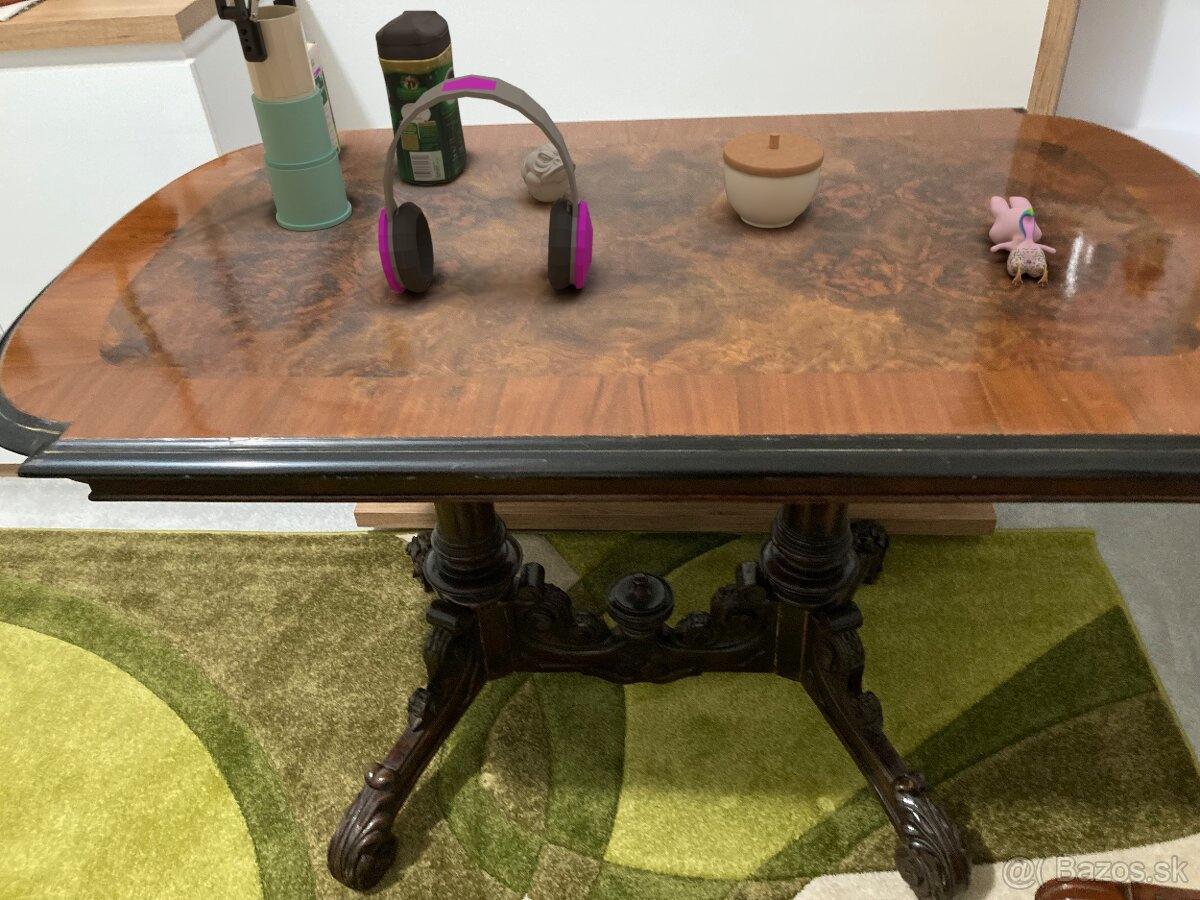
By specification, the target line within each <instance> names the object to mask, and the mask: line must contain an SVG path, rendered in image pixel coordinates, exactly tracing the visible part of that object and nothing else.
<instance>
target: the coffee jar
mask: <svg viewBox="0 0 1200 900" xmlns="http://www.w3.org/2000/svg"><path fill="white" fill-rule="evenodd" d="M375 43H376V50H377V55H378V57H377V58H378V62H379V64H380V67H381V68H380V69H381V71H382V75H383V80H384V84H385V90H386V94H387V95H386V96H387V103H388V108H389V114H390V120H391V126H392V134H393V138H394V137H395V134H396V132H397V130H398V128H399V126H400V124H401V122H402V120H403V118H404V116H405V114H406V113H407V112H408V111H409V109H410V108H411V107H412V106H413V105H414V104H415V103H416V101H417V100H418V99H419V98H420V97H421V96H422V95H423V93H425V92H426V91H428V90H430V89H431V88H433V87H435V86H436V85H438V84H440V83H441V82H443V81H445V80H446V79H451V78H456V76H455V70H454V69H455V68H454V58H453V47H452V38H451V32H450V28H449V24H448V21H447V20H446V19H445V17H443V16H442V15H441V14H439V13H438V12H437V11H436V10H428V9H427V10H425V9H424V10H404V11H402V12H401V14H399V15H397V16H396V17H395V18H393V19H391V20H390V21H388V22H387V23H385V25H383V26H382V27H381V28H379V30H378V31H377V32H376V33H375ZM463 130H464V129H463V124H462V118H461V111H460V105H459V98H457V99H452V100H447V101H441V102H439V103H437V104H435V105H434V106H432V107H430V108H428V109H426V110H425V111H423V112H421V113H419V114H418V115H417V116H416V117H415V118H414V119H413V121H412V122H411V123H410V124H409V125H408V126H407V127H406V128H405V129H404V130H403V131H402V133H401V135H400V137H399V140H398V142H397V146H396V151H395V156H396V160H397V162H396V163H397V168H398V174H399V177H400V178H401V179H402V180H403V181H406V182H409V183H412V184H414V185H420V186H433V185H436V184H440V183H446V182H447V183H448V182H451V181H453V180H455V178H456V177H458V175H460V174H461V172H462V171H463V169H464V167H465V165H466V163H467V160H468V156H467V155H468V154H467V147H466V141H465V135H464V131H463Z"/></svg>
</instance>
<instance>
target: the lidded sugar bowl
mask: <svg viewBox="0 0 1200 900" xmlns="http://www.w3.org/2000/svg"><path fill="white" fill-rule="evenodd" d="M722 149H723V150H722V159H723V168H722V169H723V170H722V172H723V173H722V175H723V185H724V186H723V187H724V191H725V195H726V198H727V201H728V202H729V204H730V206H731V207H732V209H733V210H734V212H736V213H737V214H738V215H739V217H740V219H741V221H743V223H745V224H747V225H750V226H752V227H757V228H761V229H778V228H783V227H787V226H789V225H791V224H792V223H793V222H794V221H795V220H796V218H798V217H799V216H800V215H802V214H803V212H805V211H806V209H808V207H809V205H811V203H812V201H813V199H814V198H815V195H816V193H817V190H818V186H819V182H820V178H821V173H822V166H823V162H824V158H825V150H824V148H823V146H822V145H821V144H820V143H819V142H817V141H816V140H814V139H813V138H810V137H807V136H805V135H800V134H796V133H795V134H794V133H791V132H782V131H781V132H780V131H760V132H752V133H751V132H750V133H745V134H743V135H739V136H736V137H734V138H732V139H730V140H728V142H726V143H725V144H724V147H723V148H722Z"/></svg>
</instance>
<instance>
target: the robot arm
mask: <svg viewBox="0 0 1200 900" xmlns="http://www.w3.org/2000/svg"><path fill="white" fill-rule="evenodd" d="M260 1H261V0H247V4H246V0H228V4H227V0H214V3H215V8H216V11H217V16H218V18H219V20H221V21H230V22H231V23H234V25H235V27H237V28H236V31H237V36H238V39H239V42H240V47H241V46H242V47H241V50H243V51H242V54H244V55H243V58H244V60H245V59H246V61H248V62H264V61H265V60H267V58H268V55H267V51H266V46H265V42H264V38H263V34H262V30H261V26H260V22H259V21H257V19H258V7H259V4H260ZM272 3H273V4H272V5H289V6H294V7H297V8H298V6H297V2H296V0H272Z"/></svg>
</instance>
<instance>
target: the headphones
mask: <svg viewBox="0 0 1200 900" xmlns="http://www.w3.org/2000/svg"><path fill="white" fill-rule="evenodd" d="M457 98H458V99H463V98H472V99H479V100H481V99H482V100H488V101H489V100H490V101H494V102H496V103H498V104H501V105H503V106H505V107H507V108H511V109H512V110H514V111H517V112H519V113H520V114H521V115H522V116H524V117H525V118H526V119H528V120H529V121H530V122H531V123H533V124H534V125H535V126H537V127H538V128H539V129H540V130H541V131H542V133H543V134H544V135H545V136H546V138H547V139H548V140H549V142H551V143H552V144H553V145H554V147H555V148H556V149H557V151H558V153H559V156H560V158H561V160H562V163H563V165H564V168H565V170H566V172H567V175H568V179H569V185H568V186H569V190H570V191H569V192H570V196H571V200H570V199H568V198H566V197H561V198H558V199H557V200H556V201H553V202H552V205H551V207H550V211H549V222H548V223H549V225H548V241H547V242H548V243H547V278H548V281H549V283H550V285H551V286H552V287H553V288H554V289H556V290H564V289H566V288H567V287H569V286H570V285H573V286H574V287H575V289H576V290H578V289H582V288H584V285H585V282H586V279H587V276H588V273H589V270H590V268H591V265H592V260H593V243H594V241H593V240H594V227H593V223H592V219H591V214H590V211H589V206H588V202H587V201H584V200H582V199H580V201H579V194H578V187H577V180H576V173H575V170H574V167H573V162H572V160H571V158H572V157H571V155H570V152H569V150H568V146H567V145H566V142H565V138H564V136H563V134H562V132H561V131H560V130H559V128H558V126H556V123H555V122H554V121H553V119H552V118H551V117H550V114H549V113H548V112H547V109H545V108H544V107H543V106H541V105H540V103H539V102H537V101H536V100H535V99H534V98H533V97H532V96H530V95H529V94H528V93H527V92H526V91H525V90H523V89H522V88H520V87H517V86H515V85H513V84H512V83H510V82H508V81H505V80H503V79H501V78H499V77H493V76H486V75H479V74H472V73H471V74H466V75H461V76H457V77H456V76H455V78H451V79H446V80H445V81H443V82H441V83H440V84H438V85H436V86H435V87H433V88H431V89H430V90H428V91H426V92H425V93H423V95H422V96H421V97H420V98H419V99H418V100H417V101H416V103H415V104H414V105H413V106H412V107H411V108H410V109H409V111H408V112H407V113H406V114H405V116H404V118H403V120H402V122H401V124H400V126H399V128H398V130H397V132H396V134H395V137H394V136H393V138H392V141H391V143H390V145H389V148H388V150H387V152H386V159H385V166H384V171H383V175H382V176H383V177H382V182H383V194H384V195H383V196H384V207H383V208H382V209H381V210H380V213H379V218H378V228H377V229H378V230H377V231H378V232H377V240H378V241H377V242H378V243H377V244H378V254H379V256H380V262H381V266H382V271H383V273H384V276H385V280H386V282H387V284H388V286H389V287H390V289H391V290H392V291H394V292H397V293H401V294H402V293H405V291H406V289H407V290H409V291H411V292H414V293H417V294H420V293H424V292H425V291H426V290H427V289H428V288H429V287H430V285H431V283H432V279H433V274H434V267H435V263H434V262H435V259H434V258H435V257H434V256H435V255H434V246H433V239H432V234H431V233H432V232H431V228H430V225H429V221H428V220H427V217H426V215H425V213H424V211H423V209H422V208H421V207H420V206H418V205H417V204H416V203H414V202H413V201H405V202H403V203H401V204H400V205H399V206H398V204H397V201H396V200H395V198H394V181H393V179H394V177H393V166H394V162H395V156H396V146H397V142H398V140H399V137H400V135H401V133H402V131H403V130H404V129H405V128H406V127H407V126H408V125H409V124H410V123H411V122H412V121H413V119H414V118H415V117H416V116H417V115H418V114H419V113H421V112H423V111H425V110H426V109H428V108H430V107H432V106H434V105H435V104H437V103H439V102H441V101H447V100H452V99H457Z"/></svg>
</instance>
